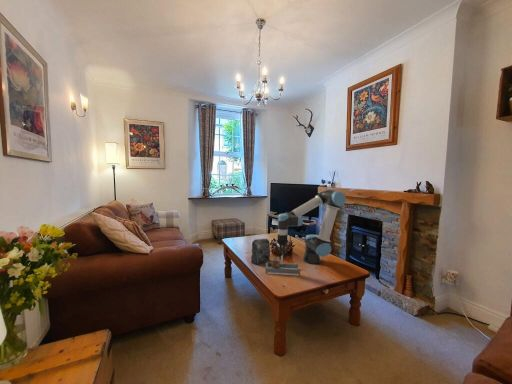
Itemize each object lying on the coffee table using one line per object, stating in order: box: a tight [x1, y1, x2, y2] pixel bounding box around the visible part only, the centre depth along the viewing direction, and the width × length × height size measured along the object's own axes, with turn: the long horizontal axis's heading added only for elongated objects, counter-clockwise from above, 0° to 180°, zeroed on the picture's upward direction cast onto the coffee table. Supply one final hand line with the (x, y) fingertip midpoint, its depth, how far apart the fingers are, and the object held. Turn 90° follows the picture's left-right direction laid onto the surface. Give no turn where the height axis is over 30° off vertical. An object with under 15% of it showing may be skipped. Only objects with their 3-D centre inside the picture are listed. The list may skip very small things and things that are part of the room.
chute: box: [265, 261, 300, 276], centre depth 176 cm, size 26×12×4 cm, turn 85°
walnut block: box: [271, 256, 281, 268], centre depth 177 cm, size 6×8×8 cm
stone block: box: [250, 238, 271, 265], centre depth 193 cm, size 18×9×20 cm, turn 124°
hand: (281, 263), depth 176 cm, fingers closed
